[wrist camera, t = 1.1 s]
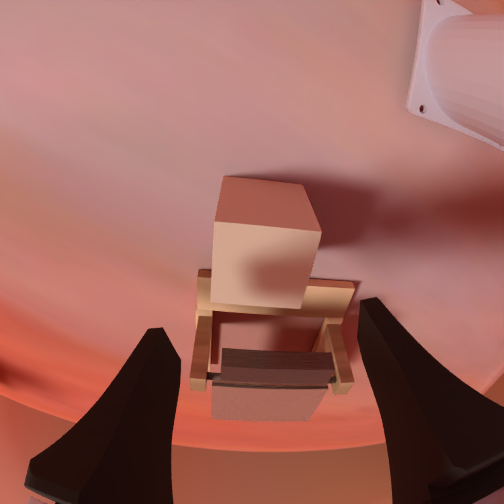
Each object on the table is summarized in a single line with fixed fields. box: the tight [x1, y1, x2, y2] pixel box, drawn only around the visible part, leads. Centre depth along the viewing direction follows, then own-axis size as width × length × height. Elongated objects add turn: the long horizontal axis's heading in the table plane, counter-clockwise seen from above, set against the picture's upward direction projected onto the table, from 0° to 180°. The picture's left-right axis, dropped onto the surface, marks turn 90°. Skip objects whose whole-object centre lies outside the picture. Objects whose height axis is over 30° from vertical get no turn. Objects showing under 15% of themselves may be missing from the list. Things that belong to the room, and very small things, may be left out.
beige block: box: [210, 176, 322, 309], centre depth 17 cm, size 5×5×6 cm
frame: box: [190, 270, 355, 395], centre depth 22 cm, size 11×11×6 cm
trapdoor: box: [211, 348, 335, 422], centre depth 20 cm, size 8×8×1 cm
